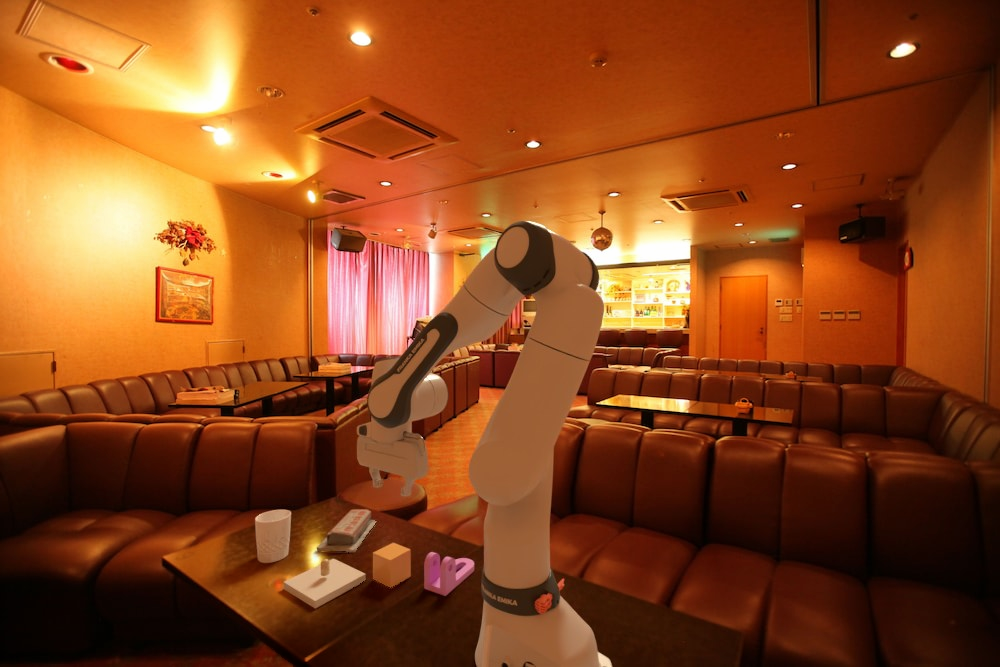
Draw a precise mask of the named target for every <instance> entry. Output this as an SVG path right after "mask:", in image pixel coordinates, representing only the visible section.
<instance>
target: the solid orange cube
mask: <svg viewBox="0 0 1000 667" xmlns="http://www.w3.org/2000/svg"><path fill="white" fill-rule="evenodd" d="M411 554H412V550H411V549H410V548H408V547H406V546H403V545H400V544H398V543H395V542H392V543H389V544H387V545H385V546H384V547H382V548H380V549H378V550H375V551H373V552H372V580H373V579H374V580H376V581H378V582H380V583H382V584H384V585H386V586H388V587H390V588H391V587H392V588H394V587H396V586H397V585H399V584H400V582H401V583H402V582H404V581H405V580H408V579H409V578H410V577H411V576H412V574H411V573H412V572H411V571H412V570H411V569H412V566H411V565H412V562H411V561H412V556H411ZM374 580H373V581H374ZM376 581H375V582H376ZM378 582H377V583H378ZM380 583H379V584H380ZM382 584H381V585H382ZM384 585H383V586H384ZM395 585H396V586H395ZM386 586H385V587H386ZM393 586H394V587H393ZM388 587H387V588H388ZM390 588H389V589H390ZM392 588H391V589H392Z"/></svg>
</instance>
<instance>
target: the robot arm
mask: <svg viewBox="0 0 1000 667" xmlns="http://www.w3.org/2000/svg"><path fill="white" fill-rule="evenodd" d="M599 273H600V271H599V269H598V266H597V265H596V263H595V262H594V260H593V259H592V258H591V257H590V256H589V255H588V254H587V253H585V252H584V251H582V250H580V249H579V248H578V247H577V246H575V245H574V244H573V243H571V240H569V239H568V238H565V237H564V236H563V235H561V234H558V233H557V232H555V231H553V230H550V229H548V228H547V227H546V226H544V225H543V224H540V223H537V222H534V221H529V220H528V221H527V220H520V221H516V222H514V223H511V224H510V225H509V226H507V227H506V228H505V229H503V231H502V232H501V234H500V235H499V237H498V239H497V241H496V244H495V247H493V248H492V249H491V250H490V251H489V252H488V253H487V254H486V255H484V257H483V258H482V259H481V260H480V261H479V262H478V264H477V265H476V266H475V267H474V268H473V270H472V271H471V272H470V274H469V275H468V277H467V278H466V280H465V281H464V283H463V284H462V285H461V287H460V289H459V290H458V291H456V292H457V293H456V294H455V295H454V296H453V297H452V299H451V300H450V301H449V302H448V303H447V304H446V305H445V307H444V308H443V309H442V310H441V311H440V312H439V313H438V314H436V315H435V316H434V317H433V318H432V319H431V320H430V321H429V322H428V323H427V324H426V325H425V326H424V327H423V328H422V330H421V331H420V332H419V333H418V334H417V336H416V337H415V338H414V339H413V341H411V343H410V344H409V346H408V347H407V348H406V349H405V351H404V352H403V353H402V354H401V356H393V357H386V358H382V359H379V360H378V361H376V362H375V363H374V366H373V370H372V375H371V383H370V384H371V385H370V388H369V391H368V394H367V398H366V400H367V401H366V404H367V410H368V413H369V415H370V416H371V417H370V418H371V419H370V420H371V421H369V422H366V423H362V424H359V425H358V426H357V427H356V434H357V435H358V437H357V439H356V458H357V461H358V464H359V465H360V466H363V467H366V468H368V469H369V471H368V472H369V474H370V477H371V479H372V487H373V488H376V489H380V488H382V487H383V485H384V479H383V478H382V477H381V475H380V474H381V473H380V471H381V472H382V471H383V472H385V473H390V474H393V475H397V476H400V477H403V481H404V485H403V486H401V487H400V496H402V497H404V498H405V497H410V496H411V495H412V488H413V485H414V484H415V482H416V480H420V479H421V478H425V477H426V476H427V475H428V473H429V470H430V469H429V457H428V449H427V445H426V441H425V440H424V438H423V437H422V435H421V434H419V433H414V432H412V430H413V427H412V426H413V424H412V422H416V421H420V420H424V419H427V418H431V417H434V416H436V415H437V414H440V413H442V412H443V411H444V410H445V409H446V407H447V405H448V401H449V389H448V388H449V387H448V386H447V383H446V381H445V379H443V377H441V375H439V374H436V373H432V371H433V370H434V369H435V367H436V366H437V365H438V364H439V363H440V362H441V361H442V360H443V359H444V358H445V357H447V356H448V355H450V354H451V353H453V352H455V351H458V350H460V349H463V348H466V347H468V346H472V345H474V344H478V343H482V342H485V341H487V340H489V339H490V338H492V336H494V335H495V334H496V333H497V332H498V331H499V330H500V329H502V327H504V325H505V323H507V320H508V319H509V318H510V316H511V315H512V314H513V312H514V310H515V309H516V307H517V306H518V304H519V303H520V302H521V300H522V299H523V298H525V297H526V296H532V298H533V299H534V301H535V304H536V305H535V306H536V309H535V310H536V311H535V316H534V318H533V321H532V323H531V326H530V328H529V331H528V333H527V335H526V338H525V340H524V343H523V345H522V348H521V351H520V353H519V355H518V359H517V361H516V364H515V365H514V366H515V367H514V368H513V372H512V373H511V376H510V379H509V381H508V383H507V385H506V387H505V389H504V391H503V393H502V395H501V396H500V398H499V399H498V401H497V403H496V406H495V408H494V409H493V411H492V413H491V415H490V418H489V420H488V422H487V424H486V425H485V428H484V431H483V432H482V434H481V436H480V438H479V441H478V443H477V444H476V447H475V449H474V450H473V452H472V455H471V457H470V460H469V463H468V478H469V482H470V484H471V487H472V488H473V490H474V492H475V493H476V495H478V497H479V498H481V499H482V500H483V501H485V502H487V508H486V514H485V517H484V521H483V562H484V563H483V566H482V570H481V596H482V598H483V604H482V605H483V606H482V619H481V624H480V625H481V626H480V632H479V637H478V640H477V641H478V642H477V645H476V647H475V653H474V661H475V665H476V667H613V665H612V662H611V659H610V658H609V657H607V656H606V655H604V654H602V653H601V652H599V650H598V644H597V640H596V638H595V634H594V631H593V629H592V627H590V625H589V624H588V623H587V622H586V621H585V620H584V619H583V618H582V617H581V616H580V615H579V614H578V613H577V612H576V611H575V610H574V609H573V607H572V606H571V605H570V604H569V603H568V602H567V601H566V600H565V599H564V598H563V596H561V592H560V591H562V589H563V588H564V587H565V583H564V582H565V578H564V577H563V578H562V579H561V580H560V581H559V582H558V583H557V581H556V578H555V575H554V572H553V569H552V568H551V551H550V550H551V549H550V548H551V543H550V541H551V538H550V536H551V535H550V532H551V530H550V527H551V526H550V524H551V523H550V522H551V508H552V496H553V495H552V494H553V478H554V454H555V452H554V451H555V450H554V448H555V445H556V442H557V440H558V438H559V436H560V434H561V432H562V429H563V426H564V424H565V422H566V420H567V418H568V416H569V413H570V411H571V408H572V406H573V404H574V402H575V399H576V397H577V394H578V393H579V392H578V391H579V389H580V387H581V385H582V382H583V379H584V377H585V374H586V372H587V369H588V366H589V364H590V362H591V359H592V357H593V355H594V352H595V349H596V346H597V343H598V339H599V336H600V332H601V329H602V328H601V327H602V324H603V319H604V313H605V303H604V300H603V298H602V297H601V296H600V294H599V293H598V292H597V289H598V287H599V283H600V282H599V281H600V274H599Z"/></svg>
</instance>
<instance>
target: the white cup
mask: <svg viewBox="0 0 1000 667" xmlns="http://www.w3.org/2000/svg"><path fill="white" fill-rule="evenodd" d="M291 521H292V511H291V510H288V509H275V510H274V509H272V510H269V511H265V512H262V513H260V514H259V515H257V516H255V518H254V524H255V525H254V526H255V540H256V550H257V554H256V555H257V561H258V562H259V563H262V564H270V563H271V564H272V563H275V562H276V563H277V562H279V561H281V560H283V559H285V558H286V557H287V556H289V553H290V542H291V539H290V538H291V527H292V526H291Z"/></svg>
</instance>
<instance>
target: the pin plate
mask: <svg viewBox="0 0 1000 667" xmlns="http://www.w3.org/2000/svg"><path fill="white" fill-rule="evenodd" d="M366 576H367V574H366V573H365V572H362V571H360V570H358V569H356V568H355V567H352V566H351V565H348V564H346V563H344V562H342V561H339V560H338V559H336V558H331V559H328V558H324V559H322V560H321V562H320V564H318V565H316V566H314V567H312V568H310V569H308V570H306V571H303V572H302V573H299V574H298V575H295V576H293V577H291V578H288V579H287V580H284V581H283V586H282V587H283V590H285V591H286V592H287V593H289V594H291V595H292V596H294V597H295V598H298V599H299V600H301V601H302V602H303V603H305V604H307V605H309V606H310V607H312V608H314V609H315V610H316V609H317V608H319V607H321V606H323V605H324V604H327V603H328V602H330V601H332V600H334V599H336V598H337V597H339V596H341V595H343V594H344V593H346V592H348V591H350V590H352V589H354V588H355V587H358V586H359V585H361V584H363V583H364V582H366V581H365V580H367V579H366ZM363 581H364V582H363ZM362 582H363V583H362ZM360 583H361V584H360ZM353 587H354V588H353Z"/></svg>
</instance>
